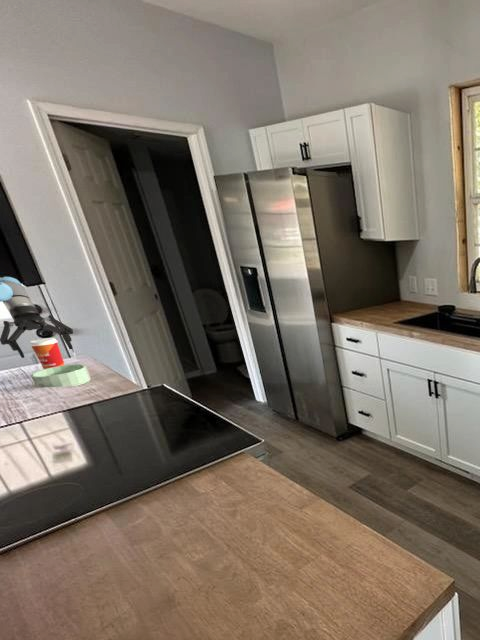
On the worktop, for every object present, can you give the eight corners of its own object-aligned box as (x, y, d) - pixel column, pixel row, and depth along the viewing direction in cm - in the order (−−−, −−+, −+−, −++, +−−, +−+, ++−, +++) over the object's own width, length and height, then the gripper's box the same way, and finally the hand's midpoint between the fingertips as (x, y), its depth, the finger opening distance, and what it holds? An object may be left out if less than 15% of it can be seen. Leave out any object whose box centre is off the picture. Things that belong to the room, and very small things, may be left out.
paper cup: (38, 375, 165) (23, 342, 160) (61, 369, 172) (47, 337, 167) (52, 377, 163) (37, 343, 158) (75, 370, 170) (61, 338, 165)
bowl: (34, 385, 155) (28, 371, 153) (86, 374, 166) (81, 361, 164) (40, 394, 147) (33, 379, 145) (94, 382, 158) (88, 368, 156)
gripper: (66, 311, 180) (89, 349, 177) (-23, 322, 160) (2, 365, 158) (64, 300, 175) (88, 339, 173) (-28, 310, 156) (-2, 354, 154)
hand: (47, 351), depth 165 cm, fingers open, 13 cm apart
